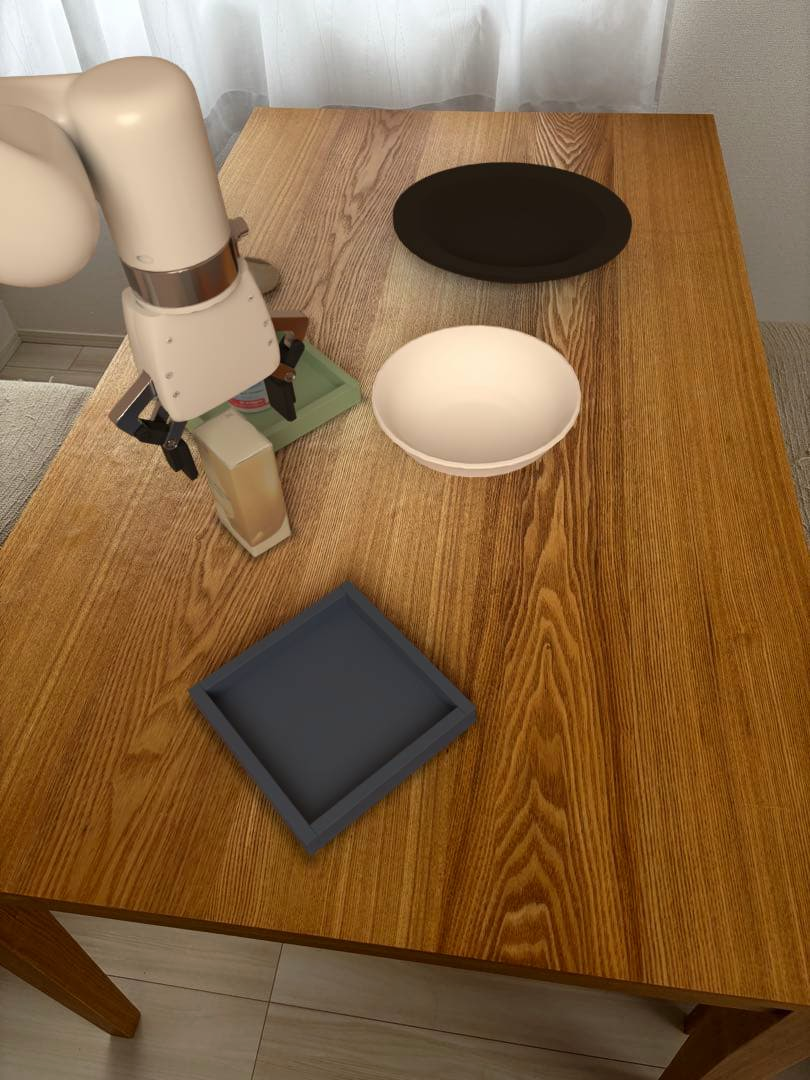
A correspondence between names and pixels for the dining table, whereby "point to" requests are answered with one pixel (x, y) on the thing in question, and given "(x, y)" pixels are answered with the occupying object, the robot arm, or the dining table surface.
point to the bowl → (476, 399)
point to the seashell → (263, 274)
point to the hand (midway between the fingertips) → (236, 440)
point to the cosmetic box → (243, 480)
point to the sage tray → (301, 399)
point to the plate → (512, 222)
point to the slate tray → (331, 713)
